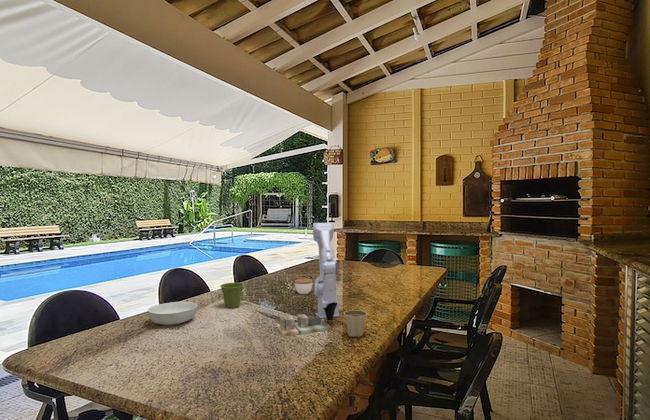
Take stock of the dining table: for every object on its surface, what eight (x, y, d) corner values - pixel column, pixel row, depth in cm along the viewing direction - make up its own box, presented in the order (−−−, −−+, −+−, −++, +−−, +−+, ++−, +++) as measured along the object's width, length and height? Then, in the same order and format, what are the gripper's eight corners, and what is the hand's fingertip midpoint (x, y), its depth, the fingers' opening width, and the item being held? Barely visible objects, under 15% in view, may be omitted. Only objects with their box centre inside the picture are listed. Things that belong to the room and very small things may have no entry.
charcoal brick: (318, 321, 164) (318, 315, 164) (320, 323, 161) (320, 317, 161) (298, 324, 160) (298, 318, 160) (300, 326, 158) (300, 320, 158)
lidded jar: (292, 292, 226) (291, 276, 226) (308, 290, 231) (308, 275, 231) (298, 296, 216) (298, 279, 216) (315, 294, 221) (315, 278, 221)
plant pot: (215, 308, 192) (215, 286, 192) (229, 302, 203) (229, 281, 203) (235, 310, 188) (234, 288, 187) (248, 304, 199) (248, 283, 198)
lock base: (321, 321, 169) (321, 309, 169) (331, 329, 158) (331, 317, 158) (276, 327, 162) (276, 314, 162) (283, 336, 150) (283, 323, 150)
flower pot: (369, 332, 155) (369, 311, 155) (364, 339, 146) (364, 317, 146) (347, 329, 158) (347, 309, 158) (341, 337, 149) (340, 315, 149)
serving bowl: (207, 318, 176) (207, 303, 176) (172, 332, 157) (171, 315, 157) (174, 313, 184) (174, 299, 184) (137, 326, 165) (136, 310, 165)
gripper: (327, 284, 172) (327, 314, 172) (314, 291, 159) (314, 323, 159) (341, 285, 169) (342, 316, 169) (329, 293, 156) (330, 325, 156)
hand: (329, 320), depth 164 cm, fingers closed
